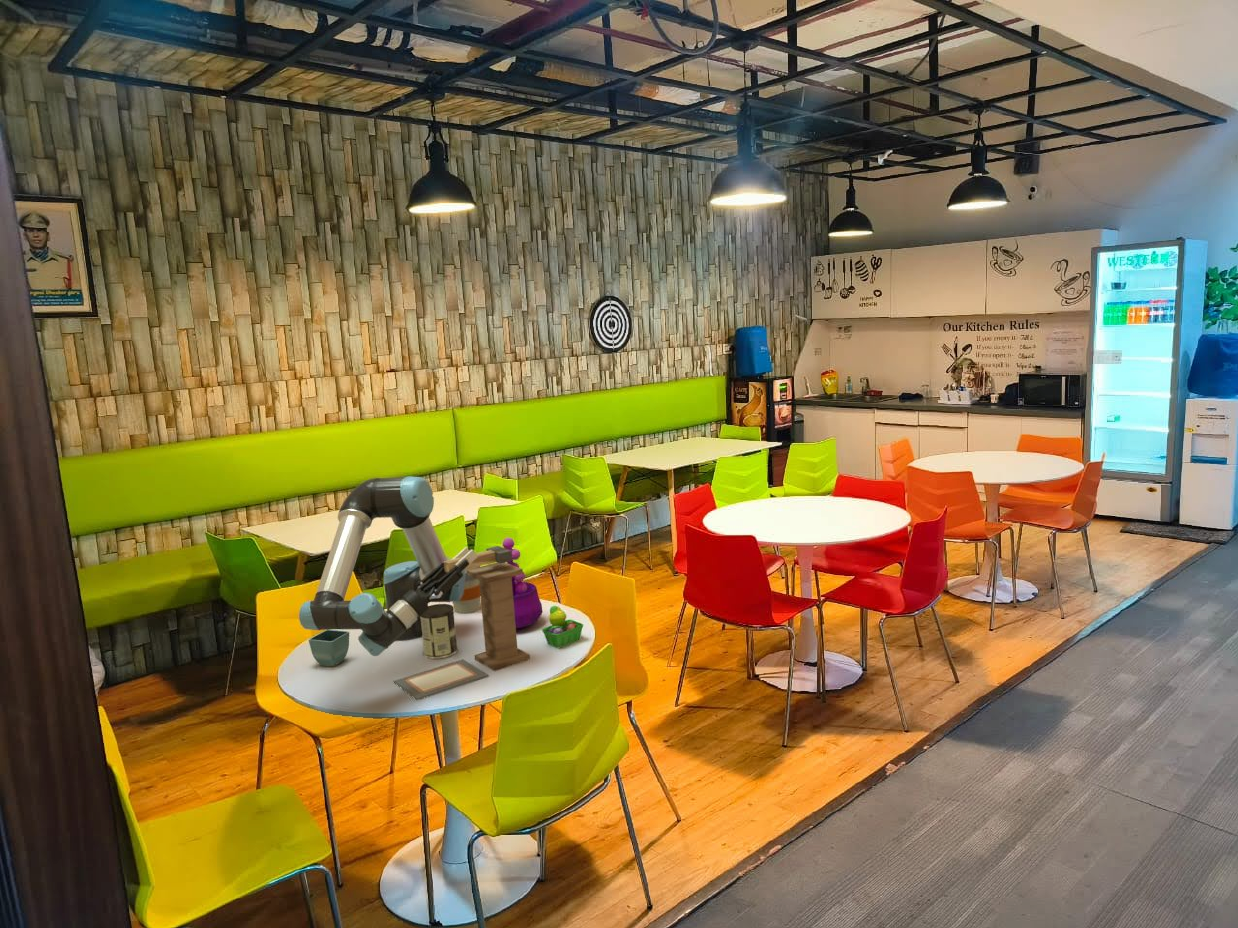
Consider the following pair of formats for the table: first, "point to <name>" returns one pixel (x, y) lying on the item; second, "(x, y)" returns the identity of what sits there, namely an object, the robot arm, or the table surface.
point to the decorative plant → (523, 593)
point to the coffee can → (439, 631)
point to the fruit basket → (561, 629)
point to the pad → (440, 679)
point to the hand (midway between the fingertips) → (471, 551)
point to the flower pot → (330, 647)
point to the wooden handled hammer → (483, 558)
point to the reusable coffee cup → (469, 596)
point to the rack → (498, 615)
